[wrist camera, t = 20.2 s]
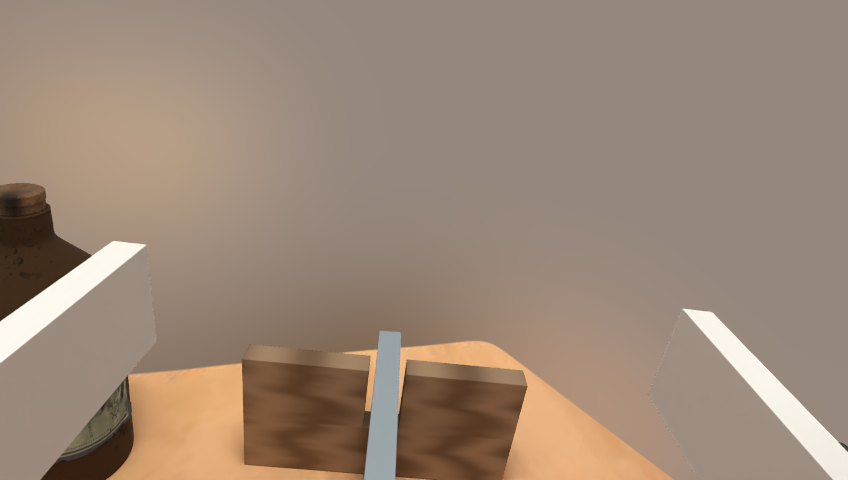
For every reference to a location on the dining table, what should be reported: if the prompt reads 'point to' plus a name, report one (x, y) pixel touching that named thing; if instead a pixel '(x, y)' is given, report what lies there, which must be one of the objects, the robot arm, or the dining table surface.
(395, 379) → the slate slotted plate
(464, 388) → the walnut slotted board
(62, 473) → the dark brown bottle
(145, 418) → the dining table surface
